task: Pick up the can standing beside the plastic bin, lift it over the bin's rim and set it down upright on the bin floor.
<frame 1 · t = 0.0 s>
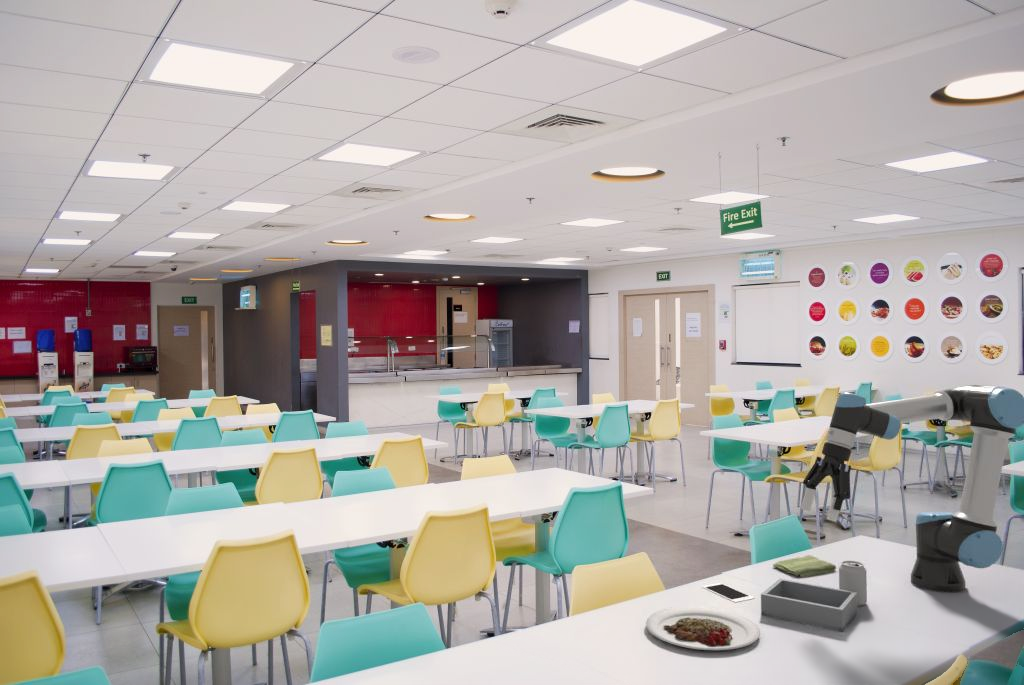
hand: (817, 515, 217), 28 cm above the table, tool tilted 20°, fingers open, 13 cm apart
plated food: (702, 633, 203), on the table
cell phone: (727, 594, 234), on the table
washcloth: (804, 571, 256), on the table
bin: (809, 614, 215), on the table
can: (853, 603, 223), on the table
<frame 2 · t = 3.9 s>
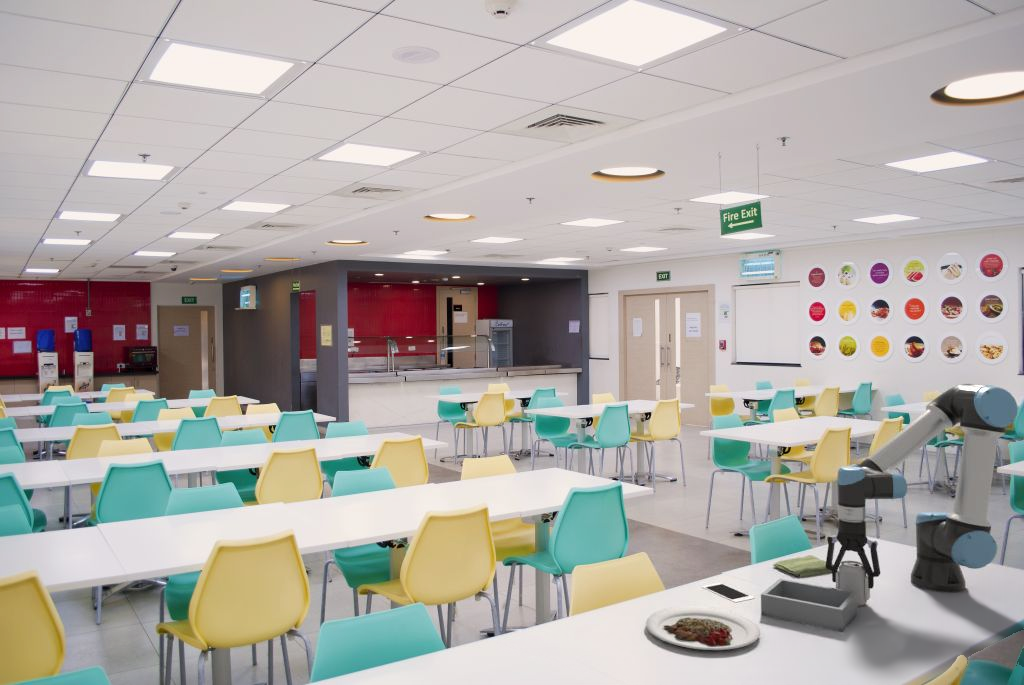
hand: (852, 595, 223), 2 cm above the table, tool pointing down, fingers closed on can, 7 cm apart
can: (853, 603, 223), on the table, touching gripper
everything else where it was.
when the fingers open (5 cm above the table, at t = 10.5 s): can drops 2 cm, resting on bin.
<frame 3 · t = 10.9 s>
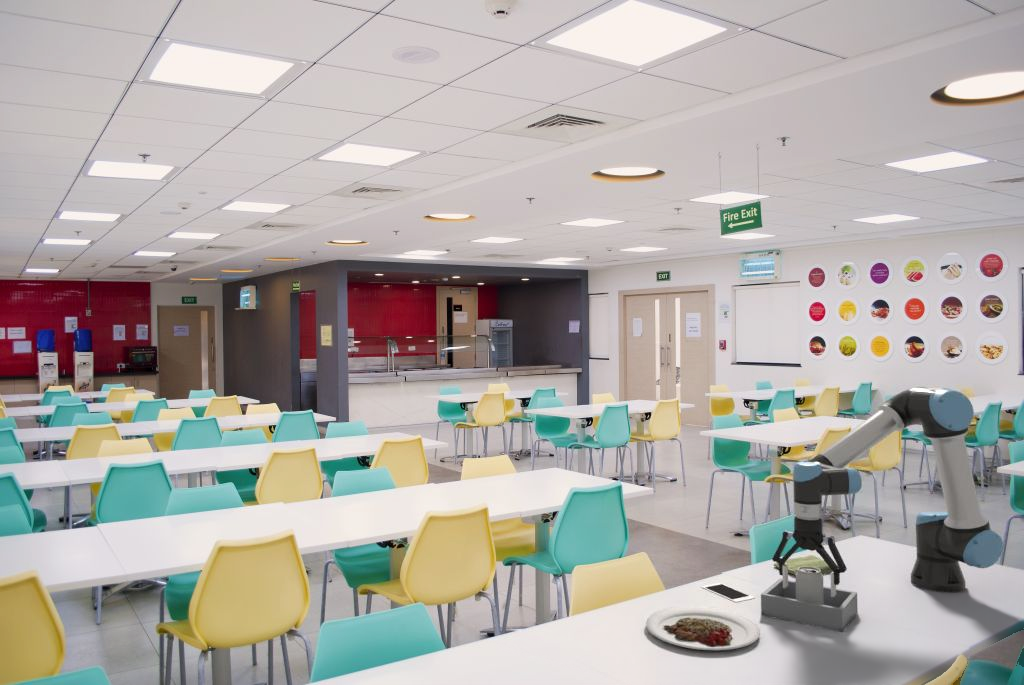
hand: (809, 591, 215), 7 cm above the table, tool pointing down, fingers open, 13 cm apart
can: (809, 611, 215), point 1 cm above the table, touching bin
everything else where it was.
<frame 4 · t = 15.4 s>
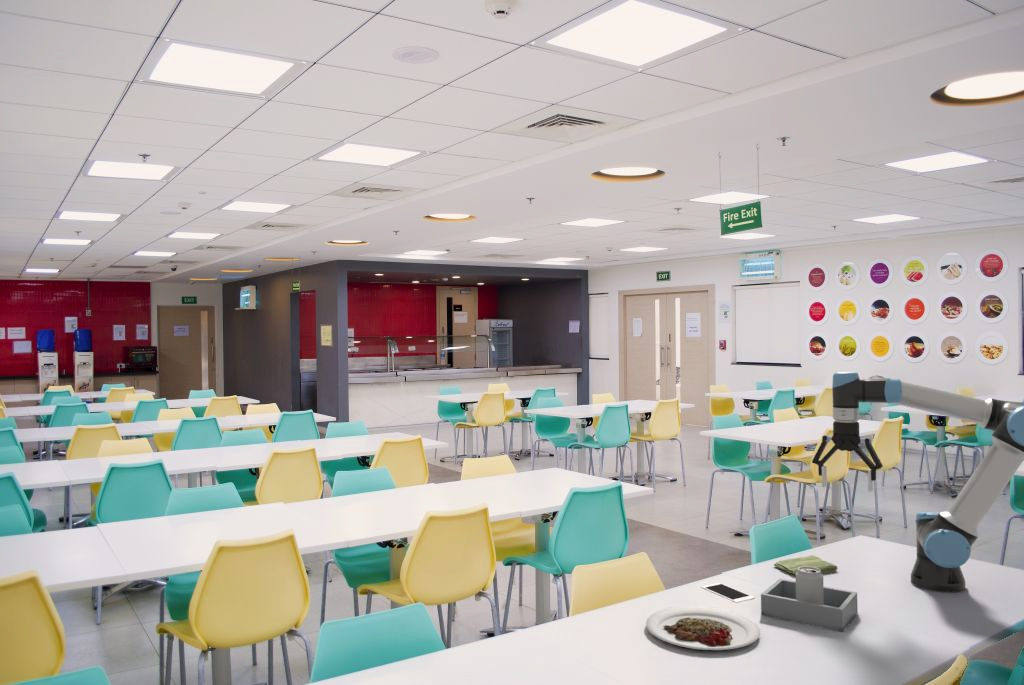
hand: (847, 488, 235), 32 cm above the table, tool pointing down, fingers open, 13 cm apart
nothing on the table moved.
at the end: can inside the target area on the bin (0.1 cm from its centre), point 0.8 cm above the bin's base; can tilted 0°; the gripper is holding nothing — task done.
